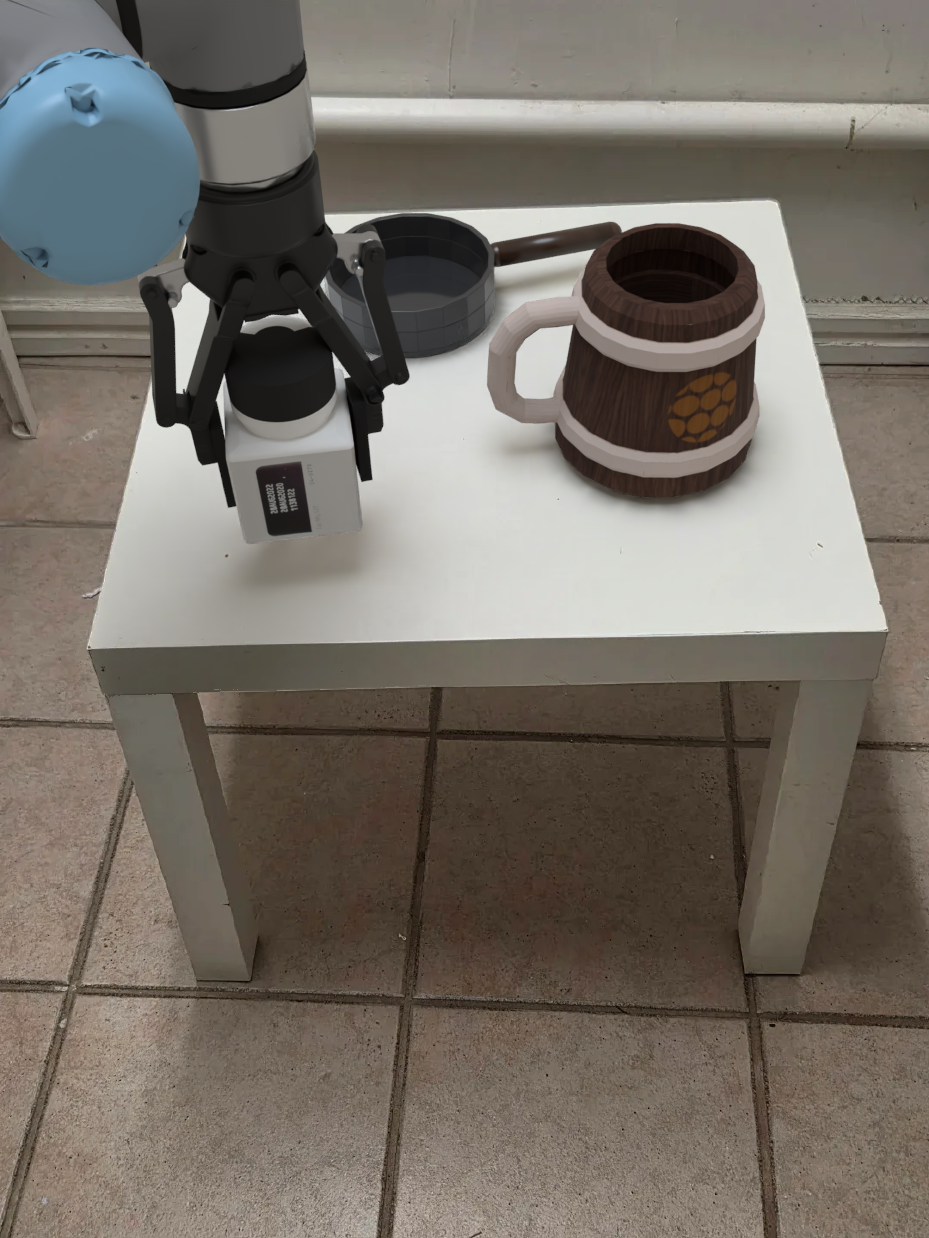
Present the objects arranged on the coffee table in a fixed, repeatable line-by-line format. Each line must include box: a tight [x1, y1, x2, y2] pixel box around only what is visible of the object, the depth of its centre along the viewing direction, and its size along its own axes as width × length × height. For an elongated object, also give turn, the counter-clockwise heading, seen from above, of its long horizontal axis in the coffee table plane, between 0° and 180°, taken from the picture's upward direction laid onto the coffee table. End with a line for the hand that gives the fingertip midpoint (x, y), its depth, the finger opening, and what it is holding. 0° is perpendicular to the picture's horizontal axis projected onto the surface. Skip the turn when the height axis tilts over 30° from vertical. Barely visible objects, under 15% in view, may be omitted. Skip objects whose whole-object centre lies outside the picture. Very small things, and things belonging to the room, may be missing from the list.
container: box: [222, 315, 363, 545], centre depth 75 cm, size 8×8×13 cm
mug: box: [486, 222, 766, 499], centre depth 84 cm, size 20×15×15 cm
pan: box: [323, 212, 496, 359], centre depth 99 cm, size 14×14×4 cm
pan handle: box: [490, 221, 623, 268], centre depth 100 cm, size 12×2×2 cm, turn 105°
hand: (297, 479), depth 79 cm, fingers closed on container, 8 cm apart
